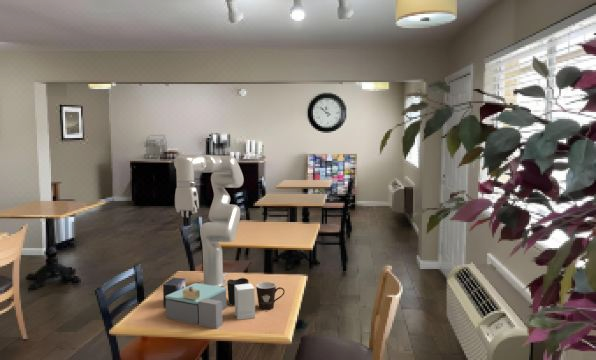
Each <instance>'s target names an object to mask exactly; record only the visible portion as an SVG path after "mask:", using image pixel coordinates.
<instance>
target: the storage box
mask: <svg viewBox="0 0 596 360" xmlns="http://www.w3.org/2000/svg"><path fill="white" fill-rule="evenodd" d="M226 309H227V290H226V291H224V292H222V293H220V294H217V295H215V296H213V297H211V298H209V299H206V298H204V299H202V300H200V301H198V304H193V303H188V302H183V301H177V300H172V299H166V307H165V310H166V311H165V312H166V314H165V315H166V319H168V320H172V321H176V322H177V321H178V322H183V323H187V324H193V325H196V326H198V325H199V326H202V327H207V328H212V329H219V328H220V327H222V326H223V311H224V310H226Z"/></svg>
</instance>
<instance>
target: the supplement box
mask: <svg viewBox="0 0 596 360" xmlns="http://www.w3.org/2000/svg"><path fill="white" fill-rule="evenodd" d="M234 290H235V306H234V315H235V317H236V318H237V320H246V319H247V320H249V319H254V318H256V304H255V302H256V299H255V297H256V295H255V286H254V285H253V284H252V283H248V284H240V285H235V286H234Z"/></svg>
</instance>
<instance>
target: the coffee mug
mask: <svg viewBox="0 0 596 360" xmlns="http://www.w3.org/2000/svg"><path fill="white" fill-rule="evenodd" d="M255 289H256V296H257V303H258V309H259V310H260V311H271V310H273V309H274V308H275V302H277V301H278V300H279V299H281V298H282V297H283V296H285V291H286V290H285V289H284V288H283V287H277V285H276V283H274V282H271V281H266V282H264V281H263V282H262V281H261V282H259V283H257V284H255ZM278 290H282V291H283V292H282V294H281V295H280V296H278V297H277V298H275V296H276V292H278Z"/></svg>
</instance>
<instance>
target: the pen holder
mask: <svg viewBox="0 0 596 360" xmlns="http://www.w3.org/2000/svg"><path fill="white" fill-rule="evenodd" d="M240 284H249V279H247V278H244V277H241V278H237V279H228V280H227V281H226V285H227V299H228V304H229V305H231V306H233V307H235V290H234V286H235V285H240Z"/></svg>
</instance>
